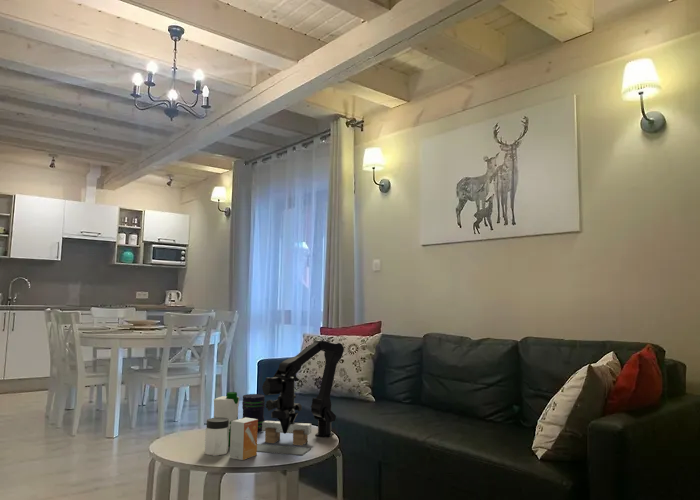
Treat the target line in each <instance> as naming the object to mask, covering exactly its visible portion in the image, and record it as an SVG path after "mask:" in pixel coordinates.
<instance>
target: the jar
mask: <svg viewBox="0 0 700 500" xmlns="http://www.w3.org/2000/svg"><path fill="white" fill-rule="evenodd" d="M204 438H205V439H204V441H205V442H204V443H205V444H204V455H208V456H212V457H213V456H214V457H215V456H223V455H226V454H227V453H228V452H229V447H228V441H229V419H228V418H221V417H219V418H214V417H211V418H207V419H206V426H205V437H204Z"/></svg>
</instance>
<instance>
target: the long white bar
mask: <svg viewBox="0 0 700 500" xmlns="http://www.w3.org/2000/svg"><path fill="white" fill-rule="evenodd" d="M265 428H274V429H275V432H279V433H280V434H281V433H282V434H284V433H283V430H282V426H281V423H280V420H276V421H275V420H264V422H262V432H265ZM293 430H301V431H303V434H306V435H308V436H309V435H310V434H312V423H309V422H308V423H304V422H294V423H293V422H290V423H289V426H288V430H287V432H286V434H293Z"/></svg>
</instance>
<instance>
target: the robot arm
mask: <svg viewBox="0 0 700 500" xmlns="http://www.w3.org/2000/svg"><path fill="white" fill-rule="evenodd" d="M320 352H324V355H323V356H324V359H325V364H324V369H323V373H322V378H321V383H320V388H319V392H318V395H317V396H316V397H313V398H312V402H311V405H310V408H311V409H310V410H311V414H312V415H313V419H314V420H317V433H316V434H314V435H315V437H323V438H324V437H326V438H330V437H332V436H333V435H334V433H335V432H333V431H332V423H333V422H335V421H336V417H337V415H336V414H335V413H334V411H332V400H331V394H332V393H331V392H332V388H333V383H334V379H335V374H336V369H337V366H338V364H339V362H340V360H341V359H342V358H343V354H344V352H345V347H344V345H343V344H342V343H340V342H332V341H331V342H330V341H325V340H323V339H315V340H314V341H313V343H311V344H310V345H308V346H307V347H306V348H304V349H303V350H302V351H301V352H299V353H297V354H296V355H295V356H293V357H290V358H287V359H285V360H283V361H281V362H280V363H279V365H278V369H276V371H275V373H274V375H273V376H272V377H265V380H264V382H263V384H262V393H263V395H265V396H273V395H279V396H277V399H276V400H275V399H274V400H272V399H269V400H268V399H267V400H266V401H265V409H267V411H268V412H270V411H271V413H270V414H271V415H270V416H271V417H270V418H272V419H277V420H278V421H279V422H280V423H281V426H282V430H283V433H282V434H287V433H286V432H287V430H288V426H289V423H290V422H293V423H295V420H296V418H297V416H298V414H299V413H298V412H301V411H302V410H303V406H302V404H301V403H298V402H297V403H296V402H295V399H296V398H297V395H296V394H295V386H296V385H295V382H300V379H299V378H298V377H297V373H298V372H300V371H301V368H302V366H303V365H304V364H305V363H307V362H308V361H309V360H311V359H312V358H313V357H315V356H316V355H317V354H319V353H320ZM296 411H297V412H296Z"/></svg>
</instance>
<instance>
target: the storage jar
mask: <svg viewBox="0 0 700 500" xmlns="http://www.w3.org/2000/svg"><path fill="white" fill-rule="evenodd" d="M265 397H266V395H265V394H262V393H248V394H244V395H242V404H241V405H242V406H241V407H242V418H245V417H246V418H253V419H258V431H257V433H262V432H263V431H262V422H264V421H265V416H264V415H265V414H264V413H265V408H266V401H265Z"/></svg>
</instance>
